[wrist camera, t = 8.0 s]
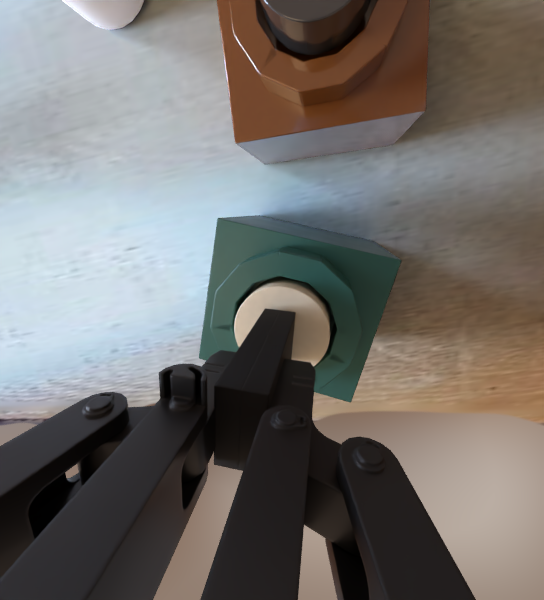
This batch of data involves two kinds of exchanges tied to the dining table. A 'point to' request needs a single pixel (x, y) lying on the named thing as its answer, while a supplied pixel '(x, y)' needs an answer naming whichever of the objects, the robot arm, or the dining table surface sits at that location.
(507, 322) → the dining table surface
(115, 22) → the white bottle
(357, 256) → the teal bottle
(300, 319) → the beige cylinder
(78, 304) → the dining table surface
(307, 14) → the dark gray button
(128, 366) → the dining table surface
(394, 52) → the brown push button box
